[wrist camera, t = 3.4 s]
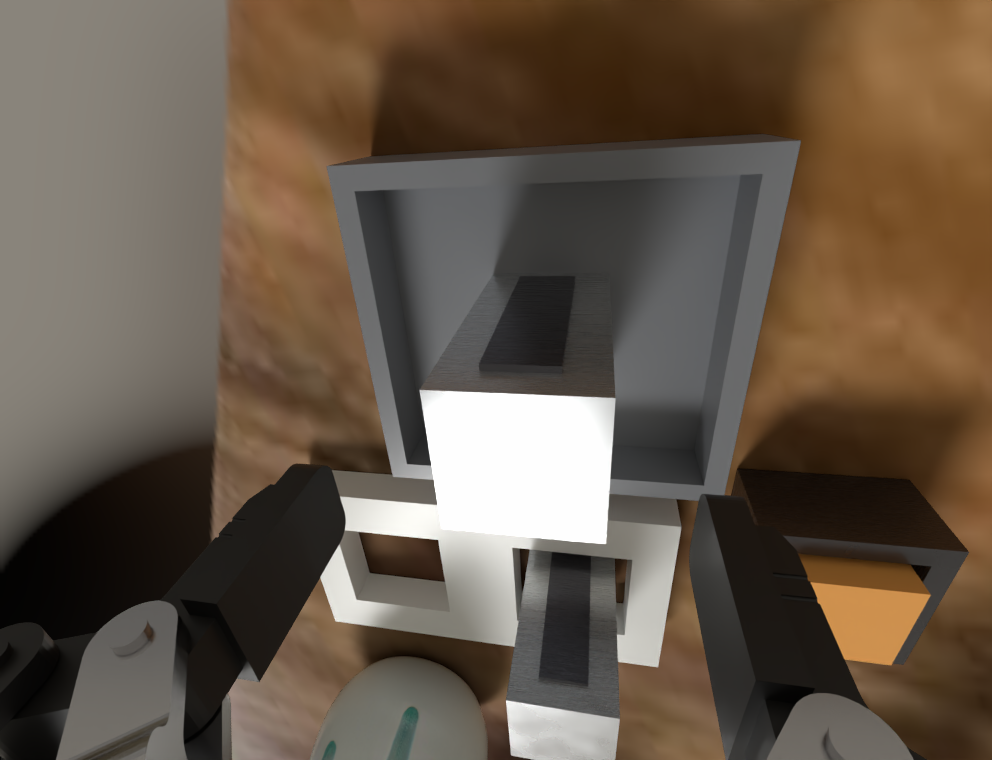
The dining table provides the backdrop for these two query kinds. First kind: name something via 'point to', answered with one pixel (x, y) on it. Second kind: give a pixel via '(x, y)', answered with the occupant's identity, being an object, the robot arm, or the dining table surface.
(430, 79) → the dining table surface
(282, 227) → the dining table surface
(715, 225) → the tray
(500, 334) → the block
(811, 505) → the button housing
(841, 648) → the button
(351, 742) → the vase
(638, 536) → the white slotted plate
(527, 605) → the block
